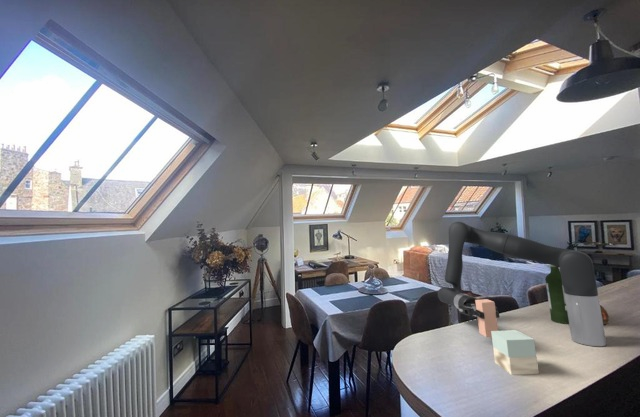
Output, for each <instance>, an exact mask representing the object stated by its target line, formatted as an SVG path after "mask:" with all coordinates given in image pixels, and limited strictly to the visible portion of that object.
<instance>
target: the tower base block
mask: <svg viewBox="0 0 640 417" xmlns="http://www.w3.org/2000/svg"><path fill="white" fill-rule="evenodd" d="M492 348H493V357H494V364H496V365H497V366H499V367H500V368H502V369H503V370H504V371H506V372H507V373H508V374H510V376H517V375H539V374H540V371H539V366H538V359H537V356H536V357H513V358H509V357H507V356H506V355H504V354H503V353H501V352H500V351H498V350H497V349H495V348H494V347H493V346H492Z"/></svg>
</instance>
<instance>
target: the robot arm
mask: <svg viewBox="0 0 640 417" xmlns="http://www.w3.org/2000/svg"><path fill="white" fill-rule="evenodd" d="M465 243H468V244H473V245H477V246H480V247H483V248H486V249H488V250H490V251H493V252H496V253H498V254H501V255H505V256H508V257H512V258H516V259H521V260H527V261H532V262H533V261H534V262H538V263H544V264H546V265H547V264H548V265H549V266H550V265H553V266H556V267H559V271H560V273H561V278H562V284H563V288H564V294H565V300H566V306H567V313H568V320H569V324H568V326H569V332H570V338H571V340H572V341H573V342H575V343H578V344H581V345H585V346H588V347H589V346H590V347H591V346H592V347H605V346H607V340H606V334H605V327H604V324H603V321H602V315H601V309H600V305H601V303H600V298H599V291H598V284H597V280H596V274H595V268H594V262H593V259H592V258H591V257H590V256H589V255H588V254H587V253H585V252H583V251H581V250H574V249H568V248H562V247H555V246H552V245H547V244H544V243H541V242H538V241H534V240H532V239H528V238H526V237H521V236H517V235H513V234H509V233H504V232H497V231H496V232H494V231H487V230H483V229H479V228H478V227H477V228H476V227H474V226H470V225H468V224H466V223H464V222H462V221H455V222H453V223H452V224H451V225H450V226H449V227H448V253H447V262H446V268H445V273H444V274H445V275H444V281H445V283H448V284H450V285H452V287H453V288H450V287H446V286H445V287H440V288H439V289H438V291H437V298H438V300H439V301H440V302H442V303H444V304H446V305H449V306H452V307H454V308H456V309H457V310H458V313H460V314H462V315H465V316H469V317H476V318H477V316H478V317H480V318H482V319H485V316H484V313H483V312H481V311H479V310H477V309H476V303H475V300H479V299H478V298H477V297H474V296H472V295H469V294H466V293H463V292H462V281H461V280H462V273H463V268H464V266H463V253H464V252H463V250H464V245H465ZM495 310H496V318H497V319H500V312H499V311H498V307H497V306H496V305H495Z"/></svg>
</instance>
